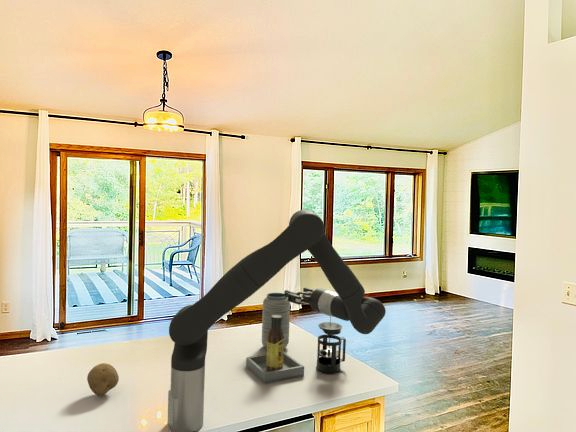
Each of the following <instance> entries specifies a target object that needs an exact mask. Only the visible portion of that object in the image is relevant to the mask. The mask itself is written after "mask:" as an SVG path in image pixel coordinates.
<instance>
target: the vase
mask: <svg viewBox="0 0 576 432" xmlns="http://www.w3.org/2000/svg"><path fill="white" fill-rule="evenodd" d="M287 299H288V298H287V297H285V296H284V293H283V292H269V293H267V294H266V297H265V298H264V299H263V301H262V317H261V318H262V323H261V324H262V325H261V344H262V346H263V347H264V349H265V350H266V351H267V341H268V333H269V331H270V329H271V323H272V321H271V316H272V315H280V316H282V321H281V328H282V332H283V335H284V350H286V347H288V345H289V340H290V320H291V319H290V317H291V302H289V301H287Z"/></svg>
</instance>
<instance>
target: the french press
mask: <svg viewBox="0 0 576 432" xmlns="http://www.w3.org/2000/svg"><path fill="white" fill-rule="evenodd" d="M318 327H319V329H320V330H322V332H323V333H324V334H321V335H319V336H317V353H316V354H317V355H316V357H317V358H316V366H315V370H316V371H317V372H318V373H320V374H323V375H330V376H331V375H336V374H337V375H339V374H340V373H341V371H342V369H341V363H342V362H345V360H346V346H347V345H346V343H347V339H346V338H345V337H343V336H342V337H340V336H338V335H340V334H341V332H342V329H343V325H341V324H339V323H336V322H332V316H329V321H328V322H327V321H325V322H321V323H319V324H318ZM321 339H322V340H321ZM328 339H329V340H328ZM331 339H334V340H338V341H334V342H331ZM321 345H322V349H321ZM337 346H338V350H337ZM330 347H331V348H330ZM341 350H342V352H341ZM341 353H342V358H341Z"/></svg>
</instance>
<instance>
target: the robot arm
mask: <svg viewBox="0 0 576 432" xmlns="http://www.w3.org/2000/svg"><path fill="white" fill-rule="evenodd" d="M306 251H308V252H309V253H310V254H311V255H312V257H313V258H314V260H315V261H316V263H317V264H318V266H319V268H320V269H321V270H322V272H323V274H324V275H325V278H327V281H328V283H330V285H331V286H332V288H333V289H334V291H332V290H329V289H325V288H323V287H319V288H316V289H314V288H308V287H303V288H302V289H303V291H302V290H301V291H298V292H295V291H290V290H288V289H285V290H284V293H283V294H284V296H285V297H287V298H288V299H287V301H289V302H290V303H292V304H296V305H299V306H300V305H302V303H303V304H305V305H309V306H310V308H311V309H312V310H313V311H314V312H318V313H321V314H322V315H325V316H329V317H330V316H331V317H332V318H333V317H334V318H337V319H339V320H341V321H346V322H348V321H349V322H350V324H351V325H352V327H353V329H355V331H356V332H358V333H359V334H362V335H369V334H371V333H372V332H373V331H374V330H375V329H376V327H378V325H379V323H380V322H381V321H382V320H383V318H384V317H385V315H386V311H387V309H386V307H385V305H384V304H383V303H382V302H381V301H380V300H379V299H377V298H374V297H369V296H365V294H366V291H365V288H364V286H363V285H362V284H361V281H359V279H358V277H357V276H356V275H355V273H354V272H353V270H352V269H351V268H350V267H349V265H348V264H347V263H346V262H345V261H344V259H343V258H342V257H341V255H339V253H338V252H337V251H336V249H335V248H334V247H333V245H332V243H331V242H330V240H329V239H328V237H327V235H326V233H325V224H324V221H323V220H322V218H321V217H320V216H319V215H318V214H317V213H315V212H314V211H313V210H309V209H300V210H298V211H295V212H294V213H293V214H292V215H291V217H290V219H289V221H288V226H287V227H286V228H285V229H284V230H283V231H282V232H281V233H280V234H279V235H277V237H276V238H274V239H273V240H272V241H270V242H269V243H267V244H265V245H264V246H262V247H260V248H258V249H256V250H255V251H253V252H251V253H250V254H247V255H246V256H245V257H243V258H242V259H241V260H240V261H238V262H237V263H235V265H233V266H232V267H231V268H230V269H229V270H228V271H227V272H225V273H224V274H223V276H221V278H220V279H219V280H218V281H217V282H216V283H215V284H214V285H213V286H212V287H211V288H210V290H208V291H207V292H206V294H204V295H203V296H202V297H201V298H199V300H198V301H195V303H192V304H189V305H186V306H184V307H181V308H180V309H179V310H178V312H176V314H175V315H174V316H173V317H172V319H171V321H170V323H169V326H168V335H169V337H170V339H171V341H172V343H174V345H173V350H172V353H171V358H170V389H169V390H167V391H168V392H167V393H168V394H167V395H168V396H167V425H168V427H169V429H170V431H171V432H197V431H199V430H200V429H201V428H202V427H203V425H204V416H205V415H204V409H205V408H204V407H205V406H204V404H205V376H206V375H205V374H206V373H205V371H206V355H207V350H208V335H209V330H210V328H211V327H213V326H214V324H215V323H216V322H218V320H220V319H221V318H222V317H223V316H225V315H226V314H228V313H229V312H231V311H232V310H233V309H235V308H236V307H238V306H239V305H241V304H242V303H243V302H245V301H246V300H248V298H250V297H251V296H253V295H254V294H255V293H256V292H257V291H259V290H260V289H261V288H262V287H264V286H265V285H266V284H267V283H268V282H269V281H270V280H271V279H272V278H273V277H275V276H276V275H277V274H278V273H280V272H281V270H282V269H283V268H285V267H286V266H287V265H288V264H289V263H291V261H293V260H294V259H296V258H297V257H298V256H300V255H302V254H303V253H304V252H306Z"/></svg>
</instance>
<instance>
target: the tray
mask: <svg viewBox="0 0 576 432" xmlns="http://www.w3.org/2000/svg"><path fill="white" fill-rule="evenodd" d="M266 360H267V353H266V354H259V355H253V356H247V357H246V362H245V363H246V364H245V367H246V368H247V369H248V370H249V371H250V372H251V373H252V374H253V375H254V376H255V377H257V379H259V381H261V382H262V383H263V384H264V385H266V384H270V383H271V384H272V383H275V382H280V381H286V380H290V379H295V378H299V377H305V366H304V365H303V364H301V363H300V362H299V361H298V360H296V359H295V358H293V357H292V356H291V355H290V354H288V353H286V352H285V351H284V355H283V368H282V369H281V370H276V371H268V370H267V365H266Z"/></svg>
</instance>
